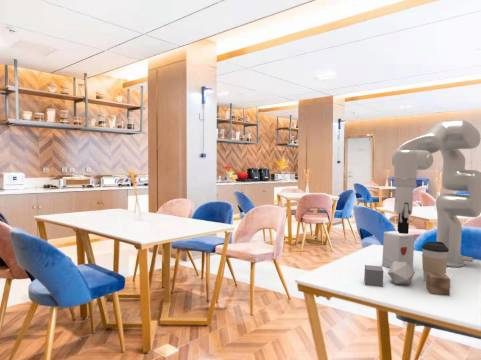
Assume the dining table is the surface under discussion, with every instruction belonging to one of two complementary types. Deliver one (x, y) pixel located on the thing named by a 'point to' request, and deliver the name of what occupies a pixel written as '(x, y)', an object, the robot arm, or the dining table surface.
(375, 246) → the dining table surface
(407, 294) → the dining table surface
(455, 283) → the dining table surface
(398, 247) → the supplement box
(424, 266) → the coffee cup
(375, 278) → the charcoal block
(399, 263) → the die
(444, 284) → the walnut block
